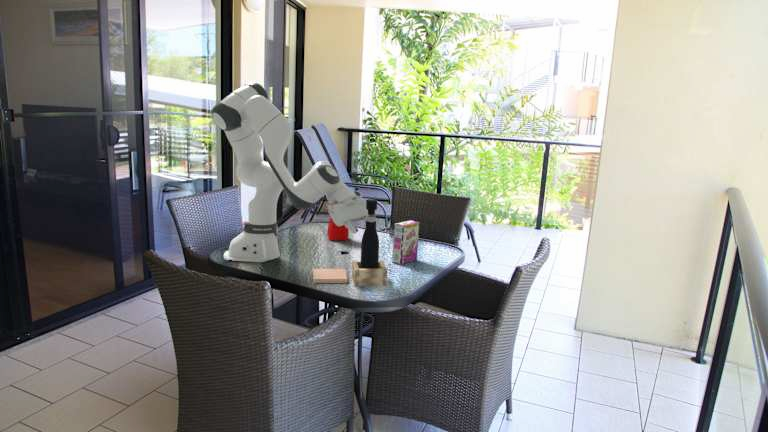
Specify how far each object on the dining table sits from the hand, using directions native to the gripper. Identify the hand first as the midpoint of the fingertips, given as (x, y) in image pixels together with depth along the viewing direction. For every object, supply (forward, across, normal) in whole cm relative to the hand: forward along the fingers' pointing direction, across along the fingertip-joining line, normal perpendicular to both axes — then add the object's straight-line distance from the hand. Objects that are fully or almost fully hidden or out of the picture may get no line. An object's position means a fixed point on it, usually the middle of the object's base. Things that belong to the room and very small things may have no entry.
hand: (363, 230), depth 208 cm
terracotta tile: (+6, -5, +21) cm, 22 cm away
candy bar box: (+13, +32, +14) cm, 37 cm away
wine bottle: (+15, +1, +12) cm, 19 cm away
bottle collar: (+15, +1, +12) cm, 19 cm away
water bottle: (-18, +43, +44) cm, 64 cm away
